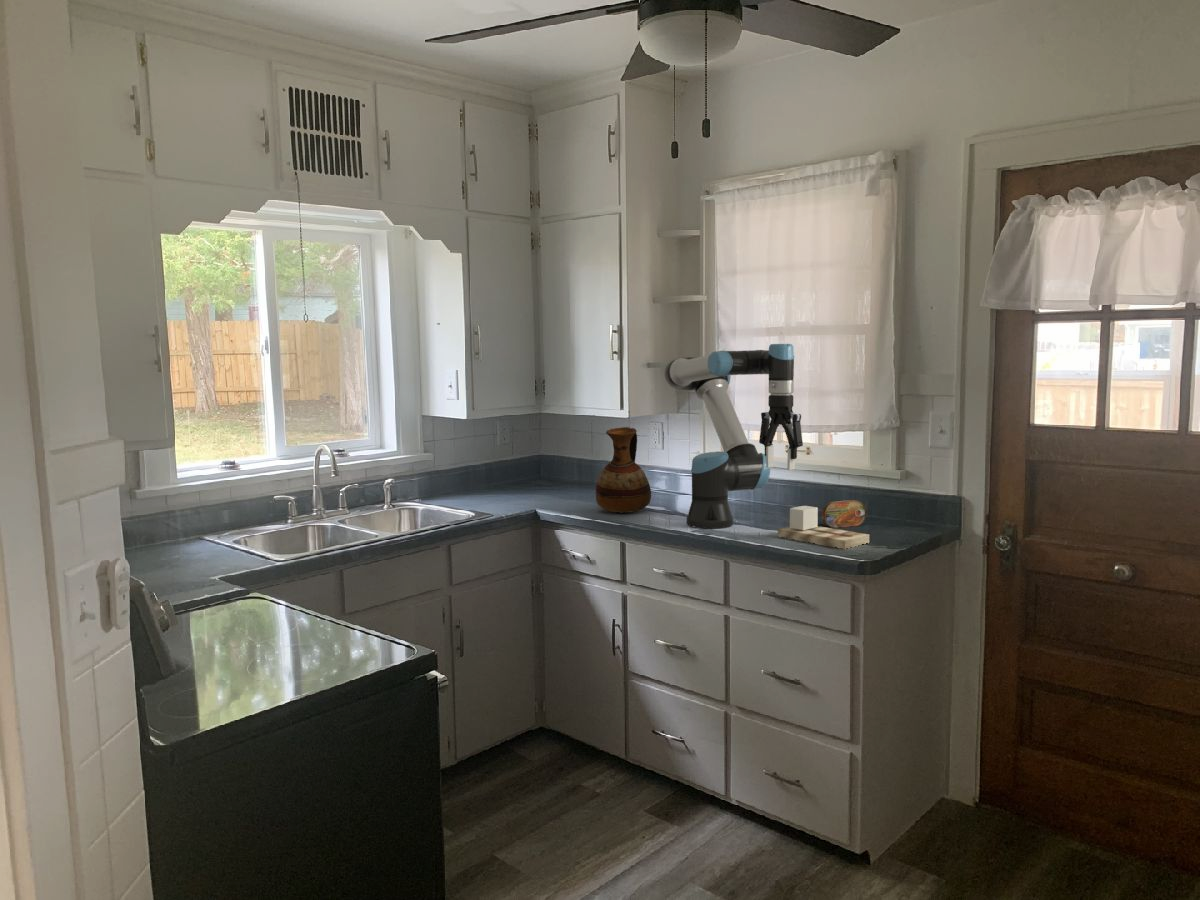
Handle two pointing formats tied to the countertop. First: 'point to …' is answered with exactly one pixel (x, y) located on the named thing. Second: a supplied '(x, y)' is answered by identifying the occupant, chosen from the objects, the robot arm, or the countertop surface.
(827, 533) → the beige flat block
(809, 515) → the fader tab
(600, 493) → the ceramic pitcher
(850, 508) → the tin
